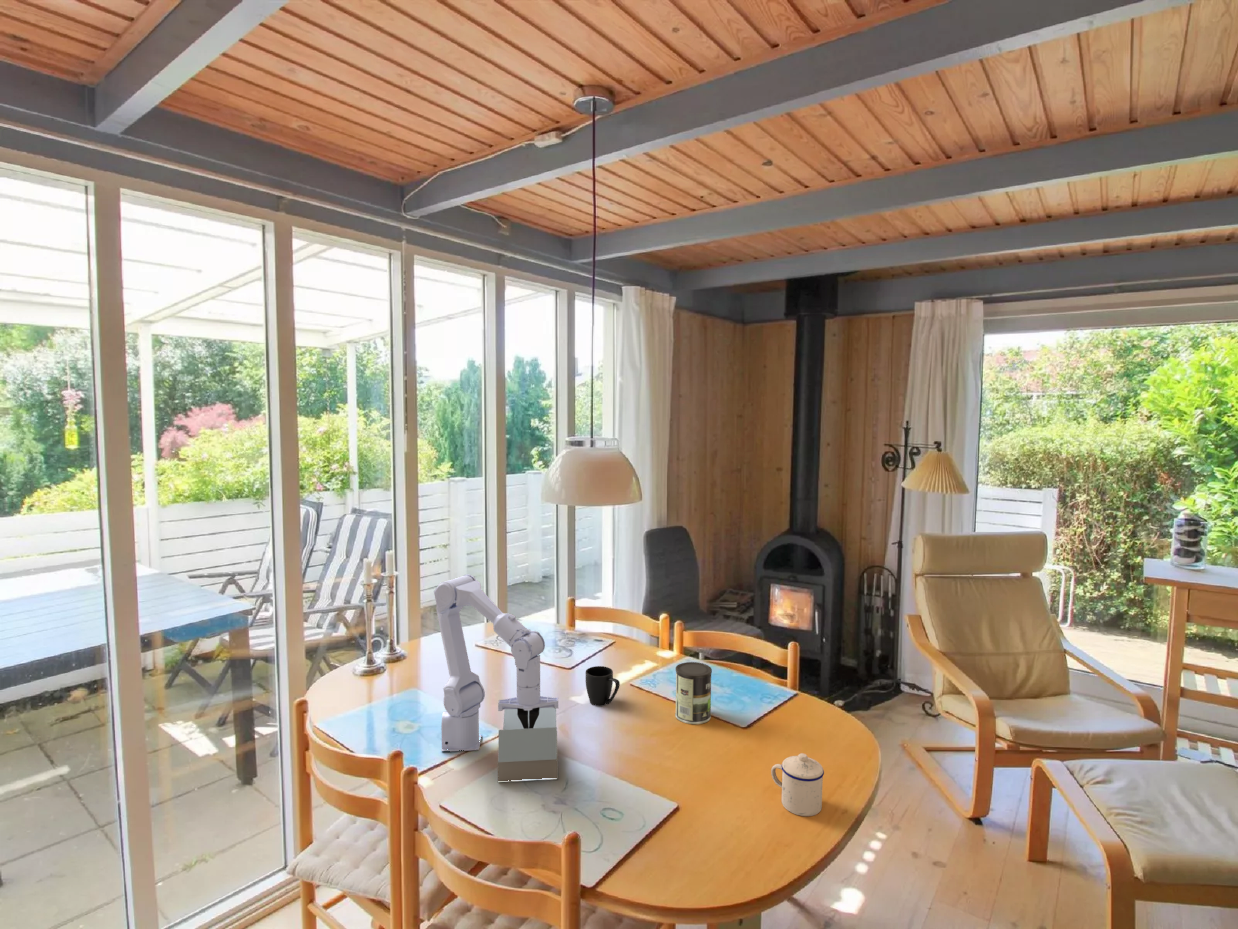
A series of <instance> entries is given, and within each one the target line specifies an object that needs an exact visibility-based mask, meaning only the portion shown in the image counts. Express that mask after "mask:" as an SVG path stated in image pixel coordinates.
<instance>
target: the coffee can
mask: <svg viewBox="0 0 1238 929" xmlns="http://www.w3.org/2000/svg"><path fill="white" fill-rule="evenodd" d="M712 671H713V670H712V667H711V666H709V665H708V664H705V663H703V662H697V661H696V662H695V661H688V662H681V663H679V664H677V665H676V666H675V713H674V714H675V715H674V716H675V718H676V719H677V720H678V721H679V722H682V723H684V724H688V725H689V724H690V725H702V724H705V723H707V722H709V721H710V720H711V718H712V715H711V712H712V711H711V710H712V708H711V707H712V673H713V672H712Z"/></svg>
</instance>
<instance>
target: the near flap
mask: <svg viewBox="0 0 1238 929" xmlns="http://www.w3.org/2000/svg"><path fill="white" fill-rule="evenodd" d="M497 745H498V748H497V749H498V750H497V752H498V755H497V758H498V759H497V763H498V762H511V761H532V760H552V759H557V754H558V728H557V726H556V727H552V728H529V729H506V730H503V729H498V744H497Z"/></svg>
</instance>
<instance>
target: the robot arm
mask: <svg viewBox="0 0 1238 929" xmlns="http://www.w3.org/2000/svg"><path fill="white" fill-rule="evenodd" d="M433 595H434V599H435V603H436V610H435V611H436V614H437V615H436V616H437V619H438V620H437V621H438V625H439V630H440V635H441V639H442V640H441V641H442V644H443V650H444V653H445V660H446V664H447V670H448V675H449V677H448V679H447V681H446V683H445V685H444V686H443V688H442V689H443V696H444V697H443V706H444V710H445V711H443V712H442V714H441V715H442V716H441V726H440V727H441V728H440V730H441V749H440V750H441V751H440V752H442V751H450V752H466V751H467V752H469V751H471V752H472V751H478V750H480V747H481V742H482V738H481V739H480V740H479V737H483V735H482V736H481V735H480V736H479V734H480V722H479V721H480V720H479V719H480V716H479V714H480V713H479V712H480V708H481V703H482V702H483V701H484V699H485V698H486V697H485V696H486V694H485V692H486V691H485V688H484V686H483V685H482V683H481V680H480V676H479V675H478V674H476V673H475V672H472V668H471V666H470V660H469V655H468V652H467V646H466V641H465V637H464V636H465V635H464V632H463V631H464V630H463V626H462V620H461V616H460V612H461V611H462V609H463V608H464V607H468V606H469V607H472V608H473V609H475V610H476V612H479V614H481V615H482V616H483V617H484V618H485V619H487V620H488V621H490V622H491V624H492V625H493V632H494V633H496V635H498V637H500V639H502V640H503V641H504V642H505V643H506V644H507V645H508V646H509V647H510V651H511V656H512V657H513V658H514V659H513V660H514V665H515V668H516V697H510V698H505V699H499V700H498V702H497V709H498V710H497V711H498V712H503V711H504V710H505V709H517V715H518V718H519V719H520V721H521V723H522V725H523V728H524V729H529V728H534V725H535V722H536V720H537V718H538V716H539V709H540V708H553V707H554V709H556V710H557V709H559V697H549V696H543V695H541V655H540V654H542V653H544V650H545V646H546V642H545V639H544V637H543V636H542V635H541V633H540V632H538V631H536V630H531V629H529V628H527V627H526V626H525V625H524V624H522V623H521V622H520V621H519V620H518V619H517V617H516V616H515V615H514V614H513V613H512V614H511V613H509V612H507V613H506V612H505V613H504V612H503V611H502V610H500V608H499V607H498V606H497V605H496V604H495V603H494V602H493V601H492V600H491V598H490V597H489V596H488V595H487V594H486V593H485V592H484V591H483V590H482V586H481V582H480V581H479V580H477V578H475V576H474V575H472V574H469V573H466V574H464V575H462V576H459V577H456V578H452V579H448V580H444V581H441V582H439V583H438V585H437V587H436V588H435V590H434V591H433ZM528 710H529V726H528ZM479 741H481V742H479ZM447 749H448V750H447ZM459 750H460V751H459ZM461 750H462V751H461ZM463 750H464V751H463Z"/></svg>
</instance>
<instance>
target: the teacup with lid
mask: <svg viewBox="0 0 1238 929" xmlns="http://www.w3.org/2000/svg"><path fill="white" fill-rule="evenodd" d="M776 769H779V770H781V771H782V776H781V777H782V779H781V780H780V779H779V777H778V776H777V773H776ZM770 772H771V773H770V774H771V777H772V778H771V779H772V780H773V782H774V783H775V785H777V786H778V787H780V788H781V804H782V806H783V808H785V809H786V810H787V811H789V813H792V814H794V815H796V816H801V817H812V816H816V815H817V814H819V813H820V812H821V811H822V806H823V805H822V804H823V780H824V779H823V778H824V777H823V776H824V774H825V771H824V767H823V766H822V764H821V763H820V762H819V761H817V760H816V759H814V758H811V757H809V756H808V754H806V753H803V752H801V753H799V754H798V755H791V756H788V757H786V758H785V759H783V761H782V763H781V764H780V763H776V764H774V765H773V766H772V767H771V769H770Z"/></svg>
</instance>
